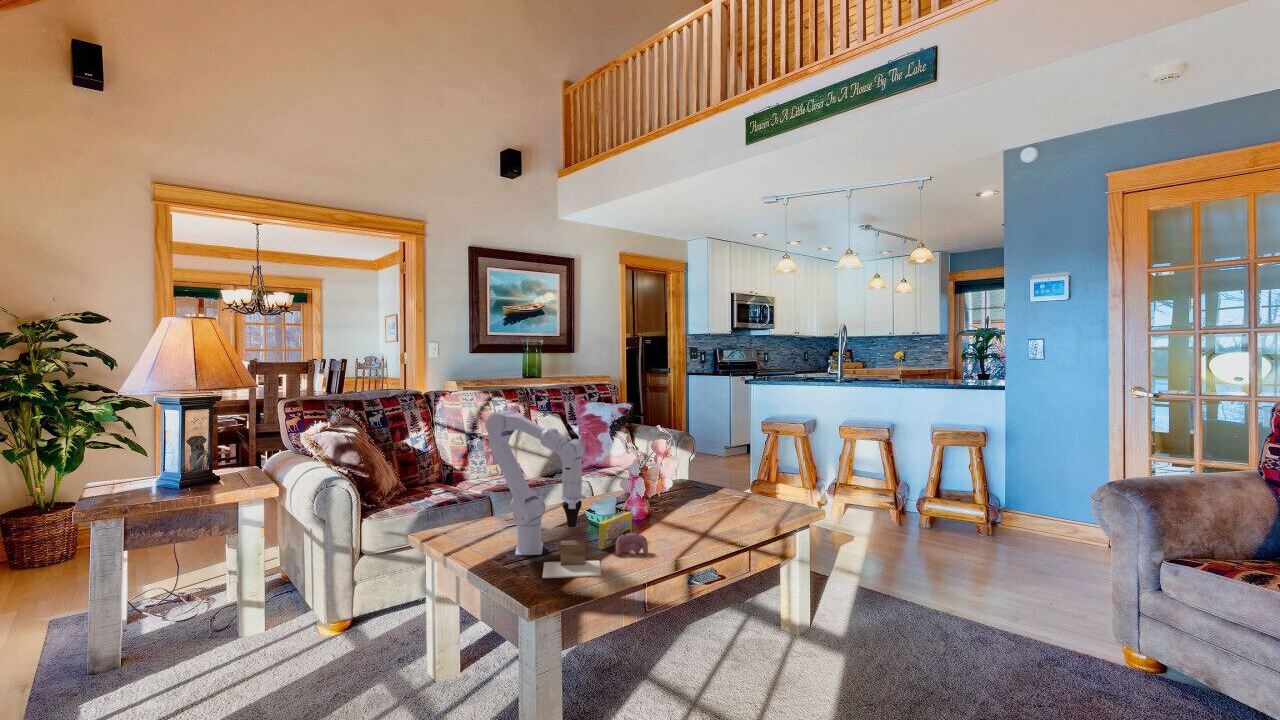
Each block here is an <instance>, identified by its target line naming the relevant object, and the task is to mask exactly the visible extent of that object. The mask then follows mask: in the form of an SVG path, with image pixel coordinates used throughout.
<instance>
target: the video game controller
mask: <svg viewBox="0 0 1280 720" xmlns="http://www.w3.org/2000/svg"><path fill="white" fill-rule="evenodd" d="M629 544H630V545H631V544H634V546H633V548H632V550H633V552H634V553H636V554H639V553H638V552H641V550H642V551H643V555H644V556H645V557H647V556H648V551H649V545H648V544H649V543H648V540H647V538H646V537H645V536H644V535H643V534H639V533H635V532H634V533H633V532H631V533H628V534H624V535H621V536H619V537H618V538H617V540H616V544H614V545H615V546H614V547H615V548H614V549H615V555H616V557H620V555H621V552H622V551H623V553H625V554H628V553H629V552H630V551H631V547H630V545H629Z"/></svg>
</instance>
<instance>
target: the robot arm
mask: <svg viewBox="0 0 1280 720" xmlns="http://www.w3.org/2000/svg"><path fill="white" fill-rule="evenodd" d="M484 427H485V429H486V432H487V434H488V435H487V436H488V445H489V448H490V450H491V452H492V454H493V456H494V458H495V461H496V464H498V468H499V469H500V472H501V475H502V476H503V478H504V480H505V482H506V484H507V487H508V488H509V491H510V493H511V495H512V497H511V500H510V501H511V502H510V507H511V509H512V510H511V511H512V518H513V520H514V521H515V523H516V526H517V528H516V532H517V533H516V534H517V535H516V536H517V537H516V538H517V542H516V543H517V544H516V547H515V548H516V549H515V553H514V556H535V555H536V556H540V555H542V554H543V547H544V543H543V542H542V520H543V519H542V518H543V515H545V512H546V509H547V508H546V503H545V502H544V500H543V499H541V498H540V497H539V495H538V492H537V491H536V490H535V491H534V490H533V489H531V488H530V486H529V484H528V482H527V480H526V478H525V476H524V473H523V472H522V469H521V468H520V465H519V463H518V461H517V459H516V457H515V455H514V452H513V450H512V448H511V446H510V440H511V437H512V436H513V434H514V433H515V431H516V430H517V431H520V432H523V433H525V434H527V435H529V436H531V437H533V438H536V439H538V440H539V441H540V444H541V446H542V447H544V448H546V449H548V450H550V451H551V452H553V453H555V454H557V455H558V456H559V458H560V459H561V466H562V479H561V480H562V489H561V492H562V493H561V494H562V495H561V500H562V501H563V502H562V504H561V505H562V508H563V510H564V513H565V516H566V521H567V526H568V527H567V528H575V527H576V526H577V523H578V517H579V512H580V510H581V509H582V506H583V505H582V504H583V503H582V502H583V501H582V500H583V499H586V494H583V492H582V488H583V485H582V484H583V478H582V477H583V457H584V455H585V452H586V445H585V443H584V442H582V441H581V440H580V439H578V438H574V439H572V437H571V436H569V435H564V434H563V433H561V432H559V430H558V428H547V429H545V428H543V427H541V426H540V425H538V424H537V423H535V422H533V421H531V420H530V419H529V418H527V417H525V416H524V415H523V414H522V413H521V412H517V411H516V410H513V409H508V410H505V411H501V412H500V411H498V412H493V413H490V414H489V415H488V416H487V419H486V422H485V424H484Z"/></svg>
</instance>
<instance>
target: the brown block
mask: <svg viewBox="0 0 1280 720" xmlns="http://www.w3.org/2000/svg"><path fill="white" fill-rule="evenodd" d="M585 561H586V540H584V539H580V540H560V562H561V566H568V565H585Z"/></svg>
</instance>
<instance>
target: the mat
mask: <svg viewBox="0 0 1280 720" xmlns="http://www.w3.org/2000/svg"><path fill="white" fill-rule="evenodd" d="M587 576H591V577H602V571H601V563H600V560H585V565H568V566H561V561H544V562H543V570H542V576H541V577H542V579H556V578H558V579H559V578H562V579H563V578H587Z"/></svg>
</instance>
